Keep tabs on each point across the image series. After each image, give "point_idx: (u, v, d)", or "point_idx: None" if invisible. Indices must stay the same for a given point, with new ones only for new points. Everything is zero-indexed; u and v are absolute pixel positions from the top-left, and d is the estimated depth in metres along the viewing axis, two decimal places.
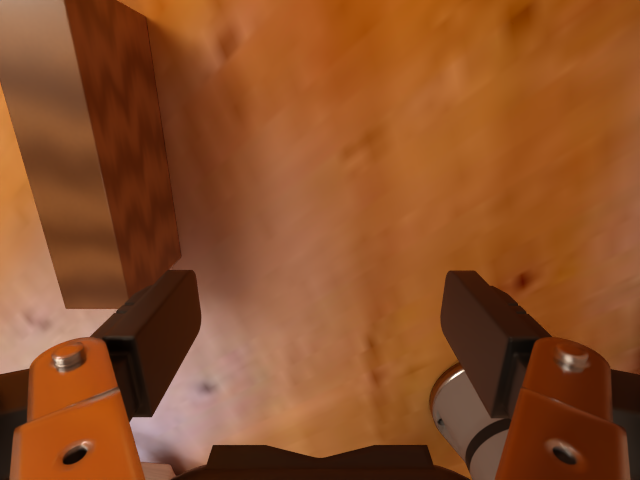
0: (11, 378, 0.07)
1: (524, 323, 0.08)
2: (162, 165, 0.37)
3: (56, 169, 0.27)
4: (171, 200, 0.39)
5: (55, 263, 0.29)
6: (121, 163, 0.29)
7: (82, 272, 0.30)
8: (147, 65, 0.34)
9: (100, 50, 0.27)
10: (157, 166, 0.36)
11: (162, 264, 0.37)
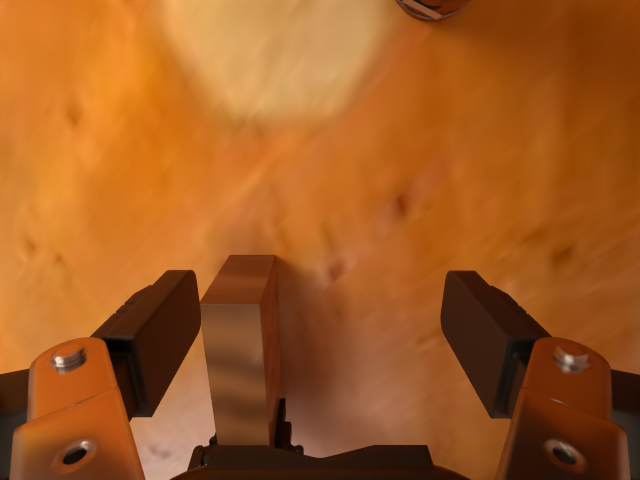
0: (12, 377, 0.07)
1: (524, 323, 0.08)
2: (278, 353, 0.47)
3: (235, 409, 0.37)
4: (280, 372, 0.50)
5: None
6: (270, 388, 0.40)
7: None
8: (275, 290, 0.44)
9: (267, 324, 0.37)
10: (277, 359, 0.46)
11: None
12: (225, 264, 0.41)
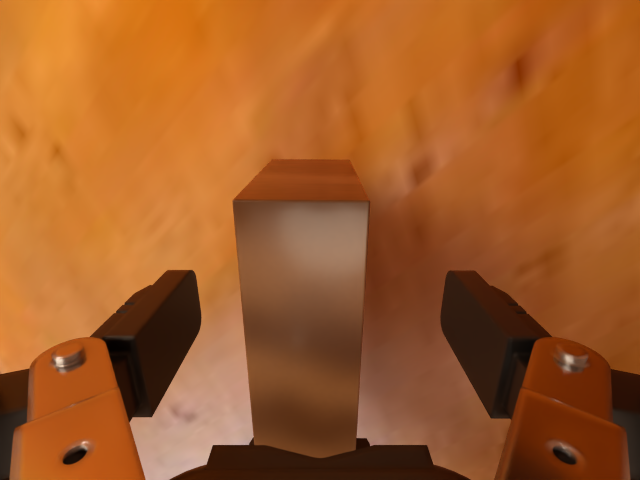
0: (12, 377, 0.07)
1: (524, 323, 0.08)
2: None
3: (295, 425, 0.19)
4: None
5: None
6: None
7: None
8: None
9: None
10: None
11: None
12: (269, 165, 0.23)
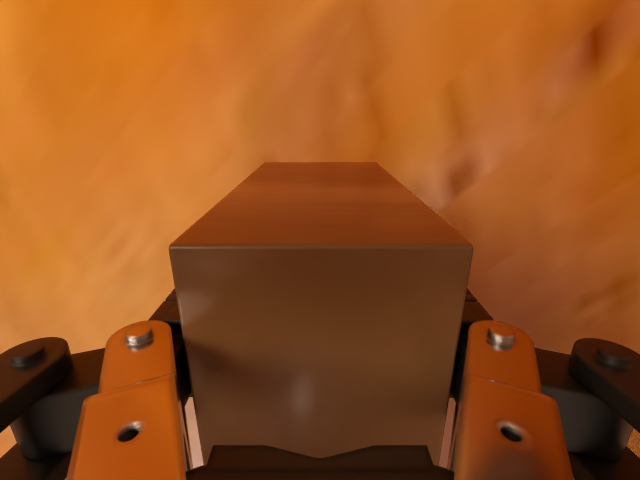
0: (85, 357, 0.07)
1: (467, 308, 0.08)
2: None
3: None
4: None
5: None
6: None
7: None
8: None
9: None
10: None
11: None
12: (259, 171, 0.15)
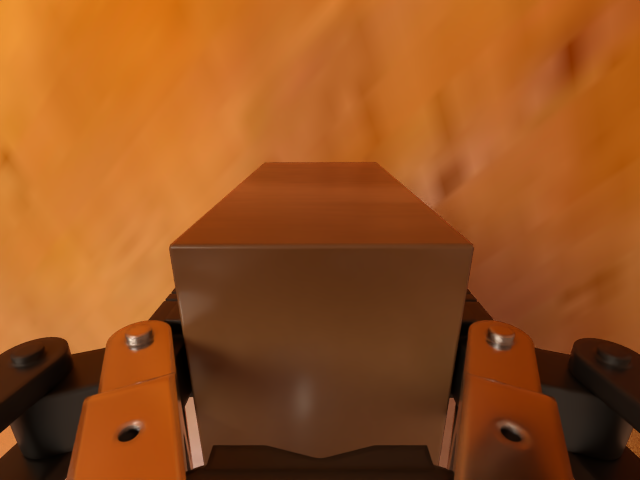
0: (85, 357, 0.07)
1: (467, 308, 0.08)
2: None
3: None
4: None
5: None
6: None
7: None
8: None
9: None
10: None
11: None
12: (259, 171, 0.15)
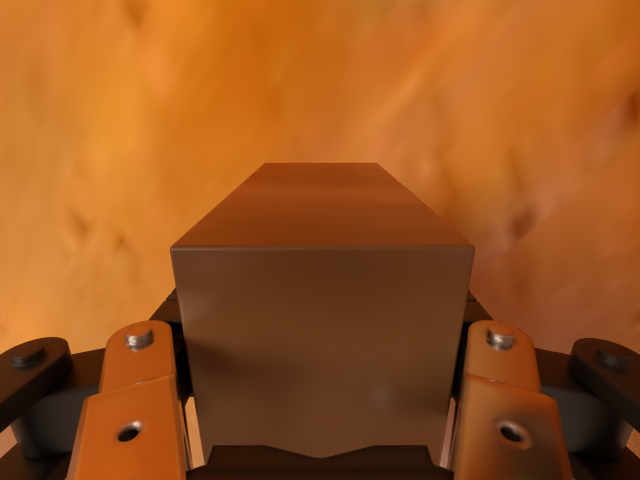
0: (85, 357, 0.07)
1: (467, 308, 0.08)
2: None
3: None
4: None
5: None
6: None
7: None
8: None
9: None
10: None
11: None
12: (259, 171, 0.15)
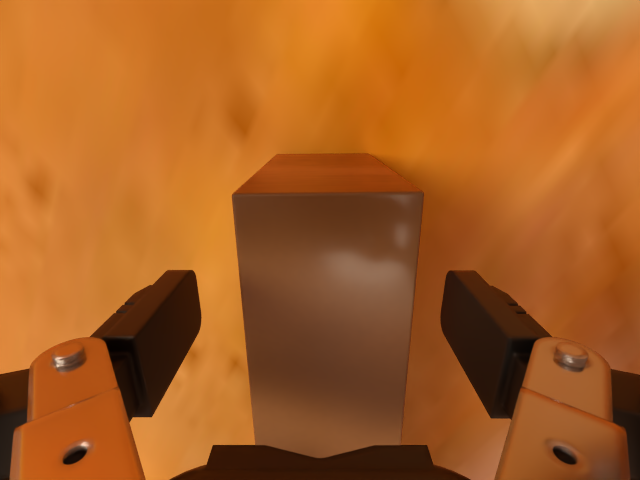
0: (12, 378, 0.07)
1: (524, 323, 0.08)
2: None
3: None
4: None
5: None
6: None
7: None
8: None
9: None
10: None
11: None
12: (274, 159, 0.19)
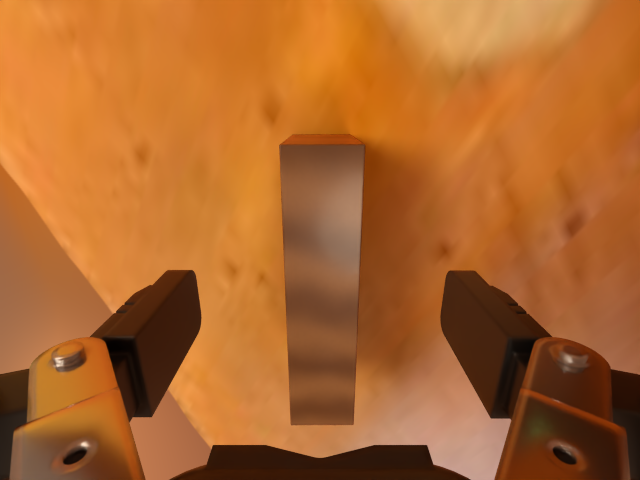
0: (11, 378, 0.07)
1: (524, 323, 0.08)
2: None
3: (315, 309, 0.28)
4: None
5: (292, 387, 0.31)
6: None
7: (316, 395, 0.31)
8: None
9: None
10: None
11: None
12: (292, 136, 0.32)
